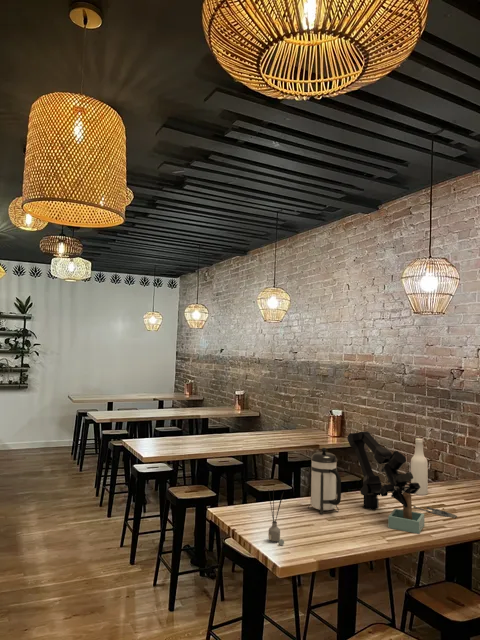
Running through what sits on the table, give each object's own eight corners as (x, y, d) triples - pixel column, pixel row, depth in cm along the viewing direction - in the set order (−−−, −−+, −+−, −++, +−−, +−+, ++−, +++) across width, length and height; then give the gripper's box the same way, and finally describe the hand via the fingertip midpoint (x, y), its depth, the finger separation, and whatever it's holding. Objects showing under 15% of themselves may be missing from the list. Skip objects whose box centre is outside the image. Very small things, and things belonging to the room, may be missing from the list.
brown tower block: (399, 522, 216) (398, 492, 218) (408, 521, 218) (407, 491, 219) (406, 525, 211) (405, 495, 213) (416, 524, 213) (415, 494, 214)
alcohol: (425, 496, 263) (425, 440, 265) (409, 493, 268) (409, 439, 270) (429, 492, 271) (429, 438, 273) (413, 490, 275) (413, 437, 278)
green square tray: (388, 527, 213) (388, 516, 213) (394, 519, 224) (394, 508, 224) (419, 533, 206) (419, 521, 207) (424, 525, 217) (424, 513, 218)
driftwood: (459, 518, 230) (459, 513, 230) (451, 520, 226) (451, 516, 226) (421, 507, 247) (421, 502, 247) (413, 509, 243) (413, 505, 243)
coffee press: (304, 513, 230) (305, 449, 232) (312, 503, 245) (312, 444, 247) (340, 518, 224) (341, 452, 226) (346, 508, 238) (346, 447, 241)
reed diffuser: (262, 538, 196) (263, 488, 198) (274, 535, 201) (275, 486, 202) (279, 547, 188) (280, 494, 190) (291, 543, 193) (292, 492, 194)
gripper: (383, 466, 218) (399, 498, 207) (417, 464, 224) (434, 495, 213) (373, 480, 225) (387, 511, 213) (406, 477, 231) (422, 508, 219)
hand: (408, 506), depth 215 cm, fingers closed on brown tower block
